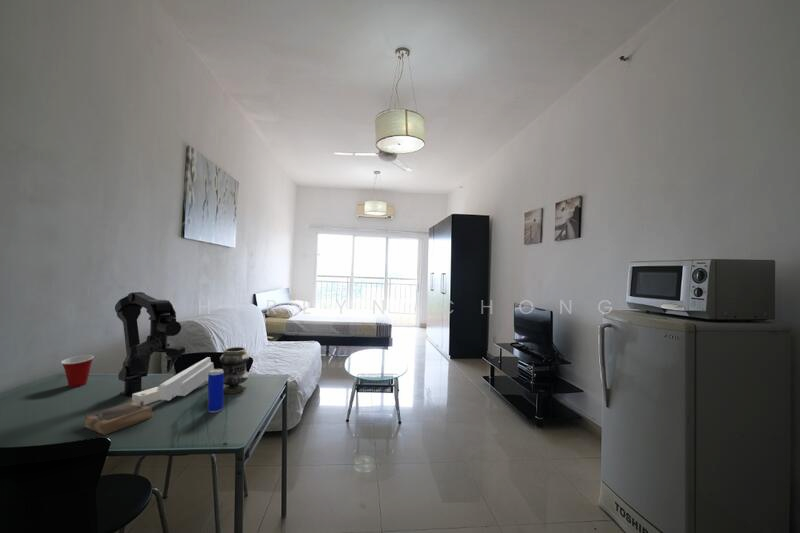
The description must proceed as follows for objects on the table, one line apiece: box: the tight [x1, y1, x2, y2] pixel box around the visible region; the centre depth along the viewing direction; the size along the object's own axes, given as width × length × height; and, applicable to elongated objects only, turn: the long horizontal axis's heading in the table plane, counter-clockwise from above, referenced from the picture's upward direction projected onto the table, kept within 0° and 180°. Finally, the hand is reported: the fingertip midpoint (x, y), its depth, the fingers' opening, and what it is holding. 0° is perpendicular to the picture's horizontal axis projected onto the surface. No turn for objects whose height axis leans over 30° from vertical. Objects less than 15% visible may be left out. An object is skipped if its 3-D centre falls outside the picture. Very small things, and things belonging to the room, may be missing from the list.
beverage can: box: [207, 368, 225, 413], centre depth 129 cm, size 5×5×15 cm
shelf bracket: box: [158, 356, 215, 402], centre depth 146 cm, size 6×25×13 cm, turn 168°
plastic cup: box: [60, 354, 95, 388], centre depth 152 cm, size 11×11×12 cm
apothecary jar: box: [219, 346, 250, 394], centre depth 150 cm, size 12×12×18 cm
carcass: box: [84, 401, 153, 436], centre depth 118 cm, size 12×14×5 cm
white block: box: [131, 386, 161, 406], centre depth 137 cm, size 6×9×4 cm, turn 157°
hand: (157, 371), depth 136 cm, fingers open, 9 cm apart
